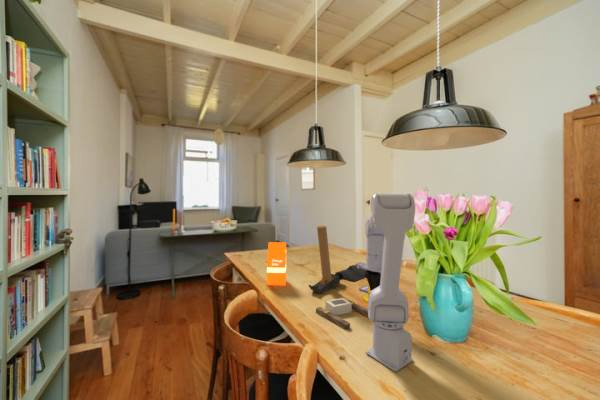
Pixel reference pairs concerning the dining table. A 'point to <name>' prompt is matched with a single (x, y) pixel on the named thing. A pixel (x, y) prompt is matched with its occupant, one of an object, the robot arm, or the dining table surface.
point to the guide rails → (337, 319)
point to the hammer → (325, 265)
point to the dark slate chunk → (353, 273)
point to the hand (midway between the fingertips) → (374, 292)
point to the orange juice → (276, 263)
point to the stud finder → (338, 306)
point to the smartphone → (364, 289)
